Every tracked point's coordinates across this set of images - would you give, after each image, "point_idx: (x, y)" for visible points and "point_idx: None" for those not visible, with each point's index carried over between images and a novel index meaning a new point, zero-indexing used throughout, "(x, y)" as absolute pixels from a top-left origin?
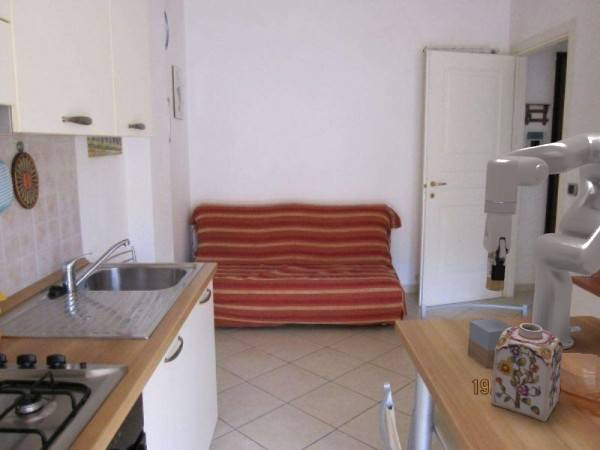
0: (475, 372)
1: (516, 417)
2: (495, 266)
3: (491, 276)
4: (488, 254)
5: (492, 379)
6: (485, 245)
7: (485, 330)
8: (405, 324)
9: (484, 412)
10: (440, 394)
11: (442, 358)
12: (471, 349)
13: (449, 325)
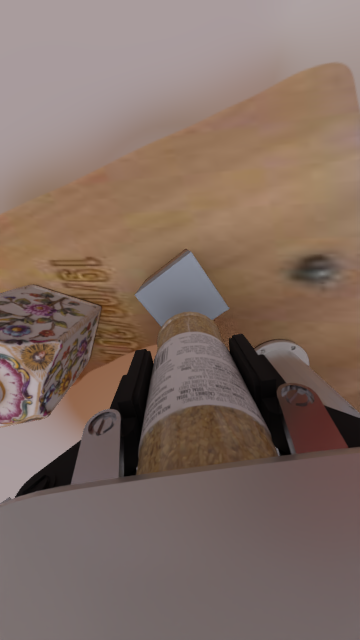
0: (123, 262)
1: None
2: (120, 412)
3: (133, 357)
4: (192, 433)
5: (3, 292)
6: (265, 532)
7: (145, 287)
8: (328, 82)
9: (5, 275)
10: (17, 206)
11: (156, 201)
12: (178, 255)
13: (327, 206)
